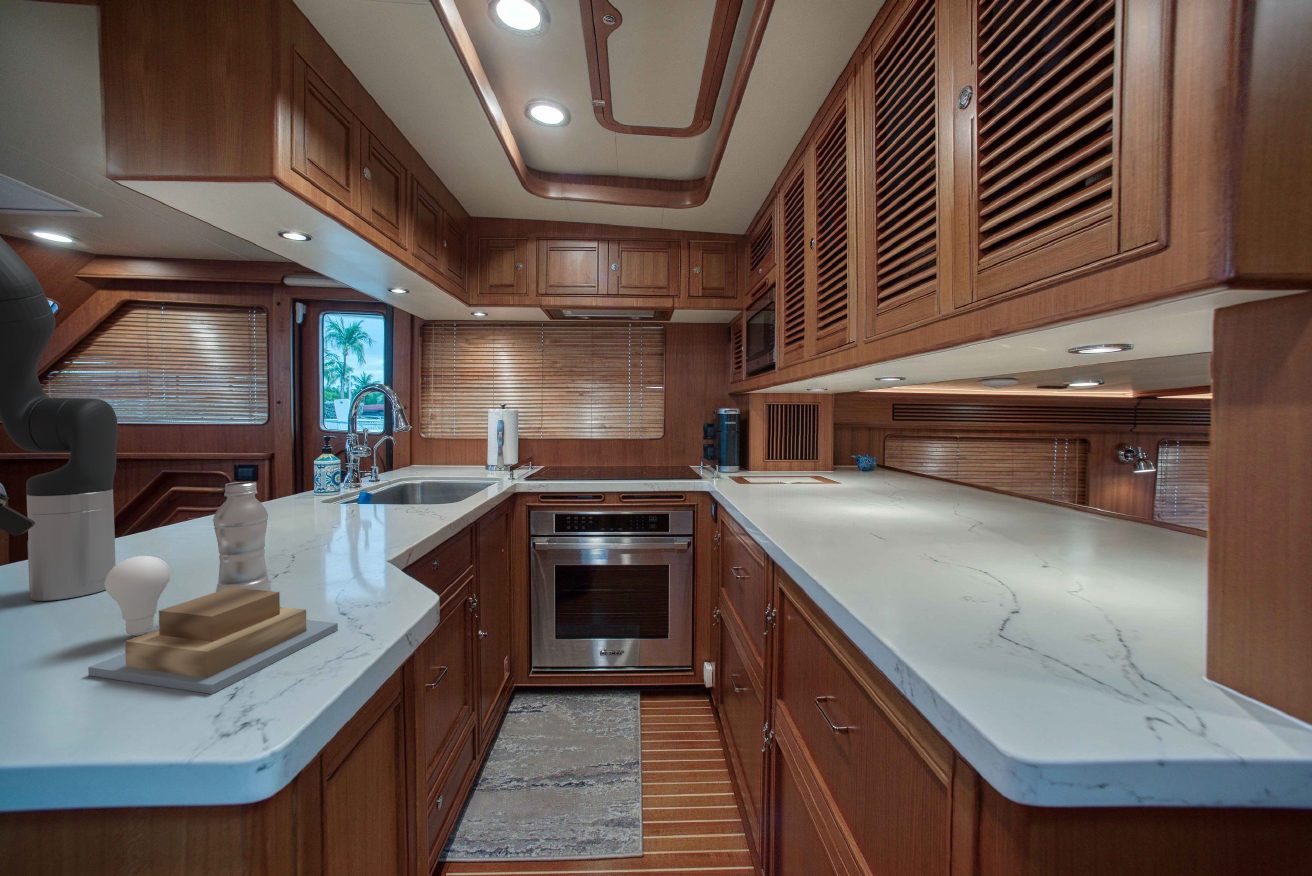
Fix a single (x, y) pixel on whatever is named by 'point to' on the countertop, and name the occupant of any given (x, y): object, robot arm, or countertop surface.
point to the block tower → (215, 632)
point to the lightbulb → (138, 590)
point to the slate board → (120, 671)
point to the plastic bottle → (241, 539)
